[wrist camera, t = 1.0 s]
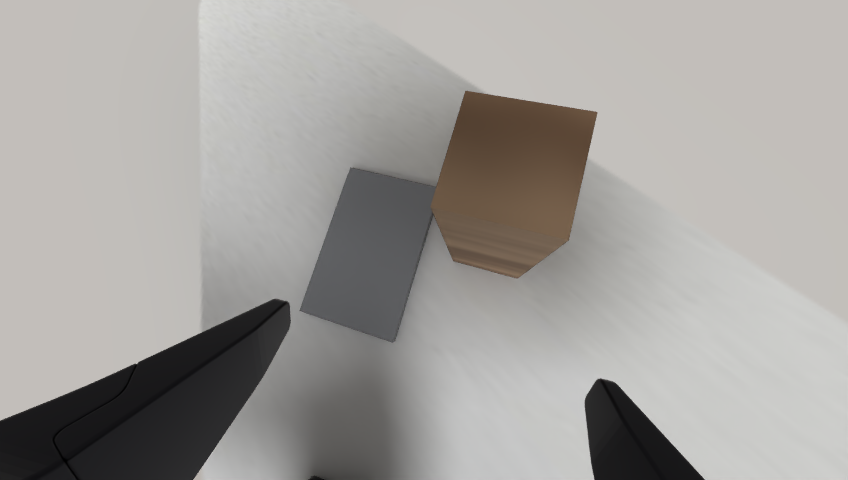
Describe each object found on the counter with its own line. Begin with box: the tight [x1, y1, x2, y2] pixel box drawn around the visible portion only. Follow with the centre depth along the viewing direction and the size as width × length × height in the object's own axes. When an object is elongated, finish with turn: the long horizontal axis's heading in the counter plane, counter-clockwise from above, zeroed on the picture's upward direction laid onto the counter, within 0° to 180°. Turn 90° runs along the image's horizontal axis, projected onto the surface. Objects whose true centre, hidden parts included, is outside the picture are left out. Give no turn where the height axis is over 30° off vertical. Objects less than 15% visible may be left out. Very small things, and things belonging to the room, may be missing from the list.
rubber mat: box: [300, 168, 436, 342], centre depth 23 cm, size 11×7×1 cm, turn 164°
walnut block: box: [430, 91, 597, 279], centre depth 16 cm, size 4×4×12 cm
